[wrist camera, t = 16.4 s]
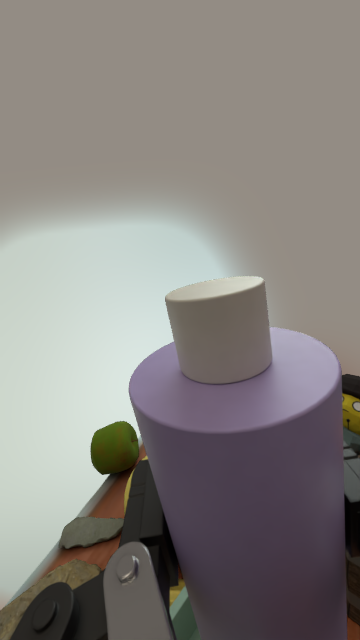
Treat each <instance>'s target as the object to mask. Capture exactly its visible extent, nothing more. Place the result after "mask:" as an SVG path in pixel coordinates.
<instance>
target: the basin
mask: <svg viewBox="0 0 360 640" xmlns="http://www.w3.org/2000/svg"><path fill="white" fill-rule="evenodd" d="M170 615H171V618H172V622H173V626H174V629H175V633H176V636H177V640H201V637H200V633H199V630H198V627H197V623H196V620H195V616H194V613H193V610H192V606H191V603H190V600H189V596H188V593H187V589H186V586H184V588H183V589H182V591H181V592H180V594H179V595H178V596H177V598H176V599H175V601H174V602H173V604H172V605H171V607H170Z"/></svg>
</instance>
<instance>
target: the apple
mask: <svg viewBox="0 0 360 640" xmlns="http://www.w3.org/2000/svg"><path fill="white" fill-rule="evenodd" d="M138 457H139V446H138V438H137V435H136V432H135V430H134V428H133V427H132V426H131V425H130V424H129V423H127V422H125V421H120V422H115V423H113V424H110V425H108V426H106V427H104V428H102V429H99V430H97V431H96V432H95V433H94V436H93V438H92V443H91V460H92V463H93V466H94V467H95V468H96V470H97V471H98V472H99V473H101V474H102V475H104V474H112V473H118V472H121V471H124V470H127V469H129V468H130V467H132V466H133V465H134V464H135V462H136V460H137V458H138Z"/></svg>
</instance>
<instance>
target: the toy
mask: <svg viewBox="0 0 360 640" xmlns="http://www.w3.org/2000/svg"><path fill="white" fill-rule="evenodd" d="M342 412H343V440H344V441H345V442H346V443H347V444H348V445H349V447H350V448H352V450H353V451H354V452H355V453H356V454H357V455H360V377H359V376H355V375H350V374H345V375H342Z"/></svg>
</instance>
